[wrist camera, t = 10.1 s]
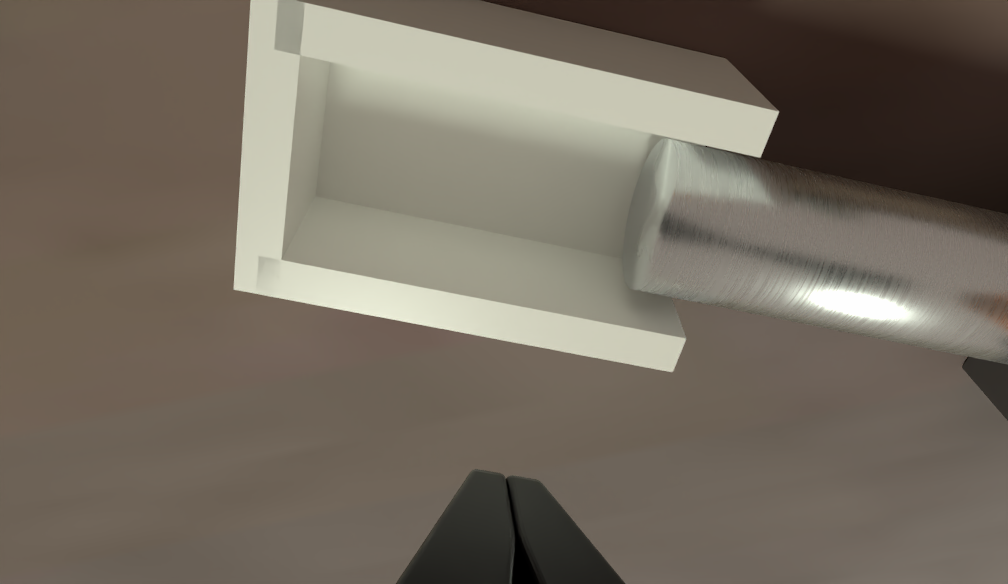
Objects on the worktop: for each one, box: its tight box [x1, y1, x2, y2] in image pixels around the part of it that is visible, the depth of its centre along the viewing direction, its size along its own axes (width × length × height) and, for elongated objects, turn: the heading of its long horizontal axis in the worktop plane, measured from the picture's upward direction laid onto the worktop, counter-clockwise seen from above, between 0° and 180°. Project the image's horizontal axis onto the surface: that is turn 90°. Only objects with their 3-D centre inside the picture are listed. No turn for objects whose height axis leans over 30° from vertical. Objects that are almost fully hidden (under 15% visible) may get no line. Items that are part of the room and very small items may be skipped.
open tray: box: [234, 0, 779, 372], centre depth 19 cm, size 10×7×4 cm, turn 77°
